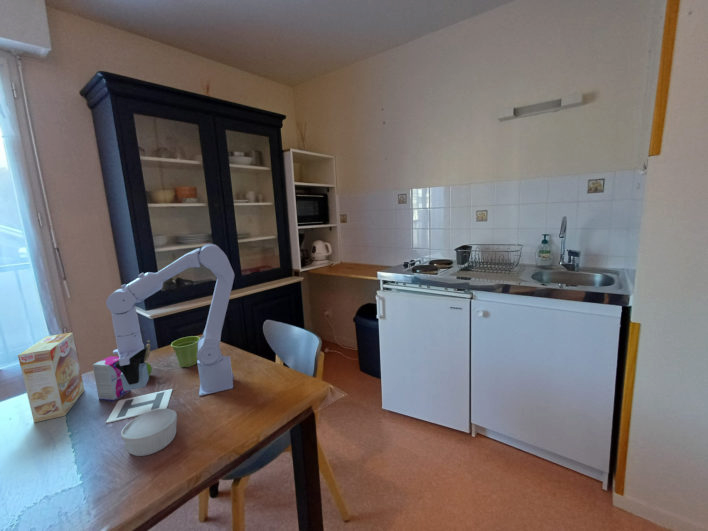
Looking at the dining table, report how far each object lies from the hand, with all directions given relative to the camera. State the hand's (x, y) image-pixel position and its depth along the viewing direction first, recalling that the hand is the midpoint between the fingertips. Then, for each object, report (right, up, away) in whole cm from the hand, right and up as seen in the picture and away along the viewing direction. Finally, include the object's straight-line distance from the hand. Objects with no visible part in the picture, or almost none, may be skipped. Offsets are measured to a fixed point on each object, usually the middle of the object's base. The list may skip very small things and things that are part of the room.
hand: (136, 378), depth 90 cm
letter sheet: (0, -8, +2) cm, 8 cm away
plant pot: (+1, -4, +26) cm, 27 cm away
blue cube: (0, -2, 0) cm, 2 cm away
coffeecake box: (-25, -9, +4) cm, 27 cm away
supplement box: (-12, -8, +8) cm, 16 cm away
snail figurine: (-9, -6, +18) cm, 21 cm away
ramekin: (+13, -10, -14) cm, 22 cm away
